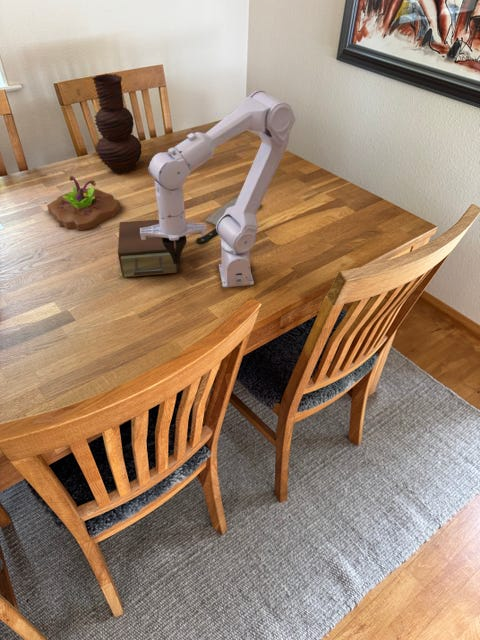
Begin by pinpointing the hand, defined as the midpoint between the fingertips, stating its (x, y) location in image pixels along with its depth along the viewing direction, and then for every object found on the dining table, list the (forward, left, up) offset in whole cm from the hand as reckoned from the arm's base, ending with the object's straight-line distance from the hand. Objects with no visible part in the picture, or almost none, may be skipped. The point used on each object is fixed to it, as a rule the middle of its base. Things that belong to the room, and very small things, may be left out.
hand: (176, 261), depth 109 cm
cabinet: (+16, +7, -10) cm, 20 cm away
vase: (+72, +16, -10) cm, 74 cm away
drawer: (+11, +7, -9) cm, 16 cm away
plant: (+44, +27, -10) cm, 53 cm away
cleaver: (+33, -15, -10) cm, 38 cm away
